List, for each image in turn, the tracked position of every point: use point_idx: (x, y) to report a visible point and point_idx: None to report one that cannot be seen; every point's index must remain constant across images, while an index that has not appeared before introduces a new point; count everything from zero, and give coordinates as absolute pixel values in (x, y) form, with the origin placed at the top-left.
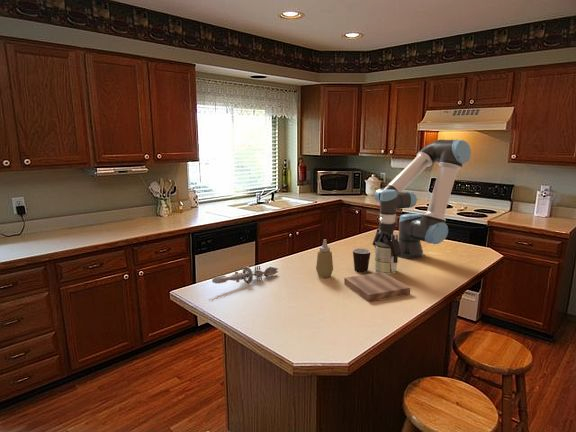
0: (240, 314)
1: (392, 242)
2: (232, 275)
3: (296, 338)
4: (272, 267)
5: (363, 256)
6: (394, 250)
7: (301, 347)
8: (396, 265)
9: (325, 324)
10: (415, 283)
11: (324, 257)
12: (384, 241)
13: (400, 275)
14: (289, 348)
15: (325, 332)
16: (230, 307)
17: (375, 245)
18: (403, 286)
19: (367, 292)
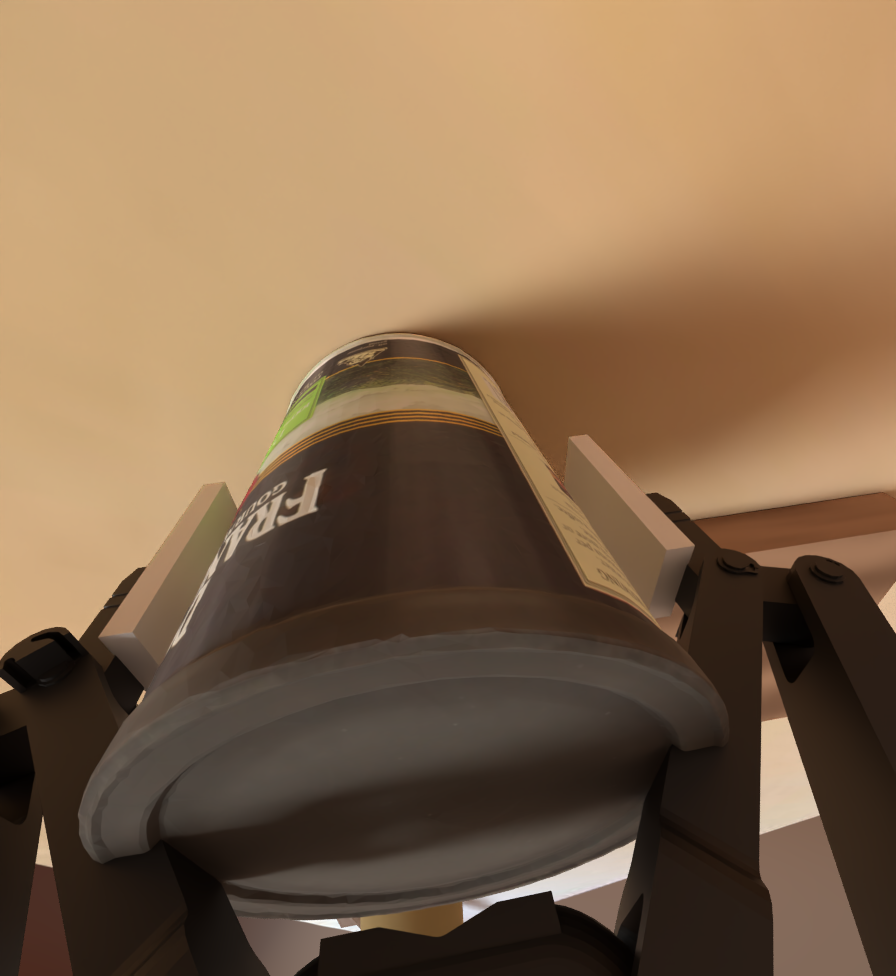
0: (601, 873)
1: (869, 954)
2: None
3: (773, 811)
4: (358, 925)
5: None
6: (795, 713)
7: (809, 805)
8: (604, 458)
9: (774, 777)
10: (811, 334)
11: None
12: (202, 831)
13: (579, 362)
14: (793, 816)
15: (804, 779)
16: (554, 886)
17: None
18: (885, 554)
19: (771, 715)
